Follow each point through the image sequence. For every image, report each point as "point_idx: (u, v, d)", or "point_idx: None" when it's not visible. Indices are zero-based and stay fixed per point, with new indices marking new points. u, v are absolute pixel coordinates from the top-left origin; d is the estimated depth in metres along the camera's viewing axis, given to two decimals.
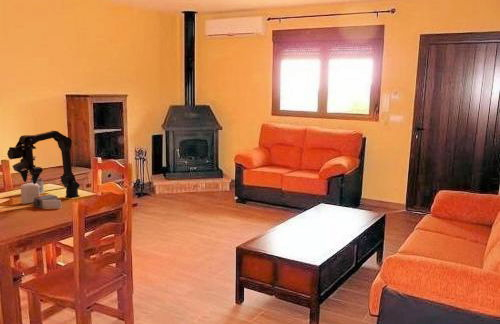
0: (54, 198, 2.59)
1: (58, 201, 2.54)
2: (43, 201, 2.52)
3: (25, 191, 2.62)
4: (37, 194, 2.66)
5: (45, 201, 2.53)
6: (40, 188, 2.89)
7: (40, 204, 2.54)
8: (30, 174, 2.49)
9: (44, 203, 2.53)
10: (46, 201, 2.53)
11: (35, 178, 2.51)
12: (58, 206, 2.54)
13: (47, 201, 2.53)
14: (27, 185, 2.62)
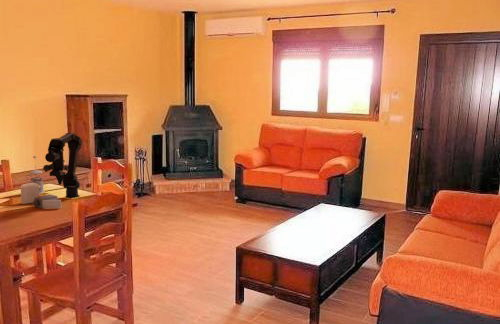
0: (54, 198, 2.59)
1: (58, 201, 2.54)
2: (43, 201, 2.52)
3: (25, 191, 2.62)
4: (37, 194, 2.66)
5: (45, 201, 2.53)
6: (40, 188, 2.89)
7: (40, 204, 2.54)
8: None
9: (44, 203, 2.53)
10: (46, 201, 2.53)
11: (59, 179, 2.61)
12: (58, 206, 2.54)
13: (47, 201, 2.53)
14: (27, 185, 2.62)
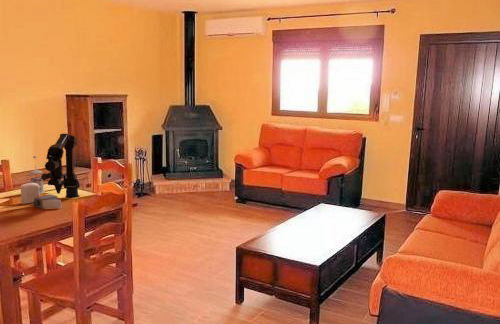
0: (54, 198, 2.59)
1: (58, 201, 2.54)
2: (43, 201, 2.52)
3: (25, 191, 2.62)
4: (37, 194, 2.66)
5: (45, 201, 2.53)
6: (40, 188, 2.89)
7: (40, 204, 2.54)
8: None
9: (44, 203, 2.53)
10: (46, 201, 2.53)
11: (57, 188, 2.54)
12: (58, 206, 2.54)
13: (47, 201, 2.53)
14: (27, 185, 2.62)
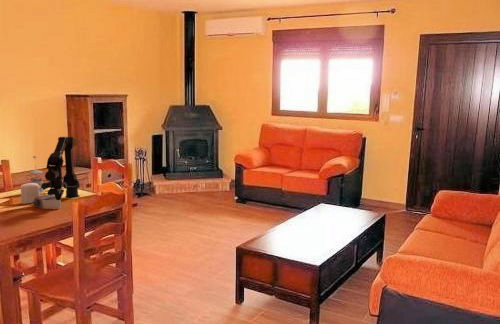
0: (54, 198, 2.59)
1: (58, 201, 2.53)
2: (43, 201, 2.52)
3: (25, 191, 2.62)
4: (37, 194, 2.66)
5: (45, 201, 2.52)
6: (40, 188, 2.89)
7: (40, 204, 2.54)
8: None
9: (44, 203, 2.53)
10: (46, 201, 2.53)
11: (58, 197, 2.53)
12: (58, 206, 2.54)
13: (47, 201, 2.53)
14: (27, 185, 2.62)
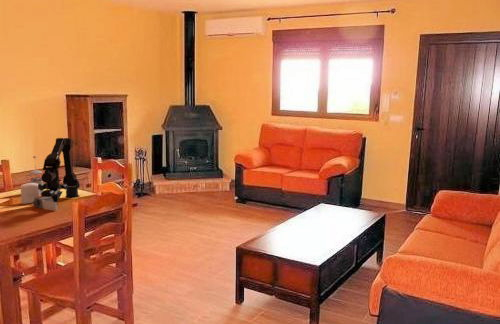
0: None
1: (54, 203, 2.49)
2: (43, 201, 2.52)
3: (25, 191, 2.62)
4: (37, 194, 2.66)
5: (44, 201, 2.52)
6: None
7: (40, 204, 2.54)
8: None
9: (43, 203, 2.52)
10: (45, 201, 2.52)
11: (54, 199, 2.50)
12: (54, 208, 2.50)
13: (46, 202, 2.51)
14: (27, 185, 2.62)
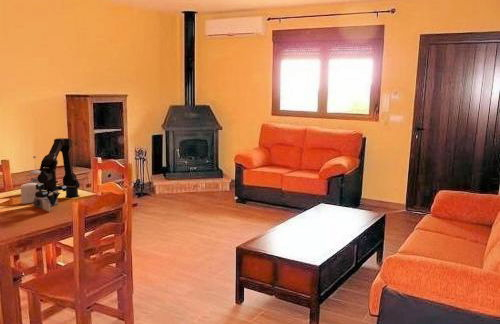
0: None
1: (48, 204, 2.46)
2: (42, 201, 2.52)
3: (25, 191, 2.62)
4: None
5: (43, 202, 2.51)
6: None
7: (40, 204, 2.54)
8: None
9: (43, 203, 2.52)
10: (43, 202, 2.51)
11: (50, 200, 2.49)
12: (48, 209, 2.47)
13: (44, 202, 2.51)
14: (27, 185, 2.62)
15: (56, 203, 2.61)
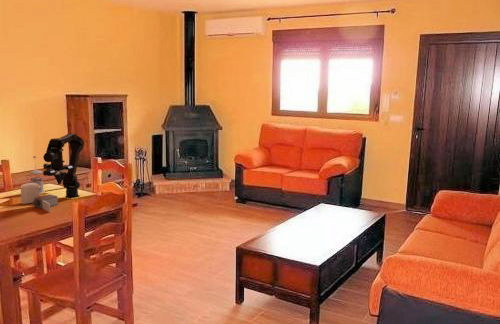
0: (54, 198, 2.59)
1: (48, 204, 2.46)
2: (42, 201, 2.52)
3: (25, 191, 2.62)
4: (37, 194, 2.66)
5: (43, 202, 2.51)
6: (40, 188, 2.89)
7: (40, 204, 2.54)
8: None
9: (43, 203, 2.52)
10: (43, 202, 2.51)
11: (57, 179, 2.63)
12: (48, 209, 2.47)
13: (44, 202, 2.51)
14: (27, 185, 2.62)
15: (56, 203, 2.61)
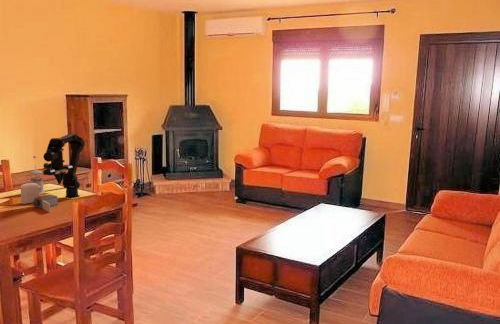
0: (54, 198, 2.59)
1: (48, 204, 2.46)
2: (42, 201, 2.52)
3: (25, 191, 2.62)
4: (37, 194, 2.66)
5: (43, 202, 2.51)
6: (40, 188, 2.89)
7: (40, 204, 2.54)
8: None
9: (43, 203, 2.52)
10: (43, 202, 2.51)
11: (57, 178, 2.63)
12: (48, 209, 2.47)
13: (44, 202, 2.51)
14: (27, 185, 2.62)
15: (56, 203, 2.61)
